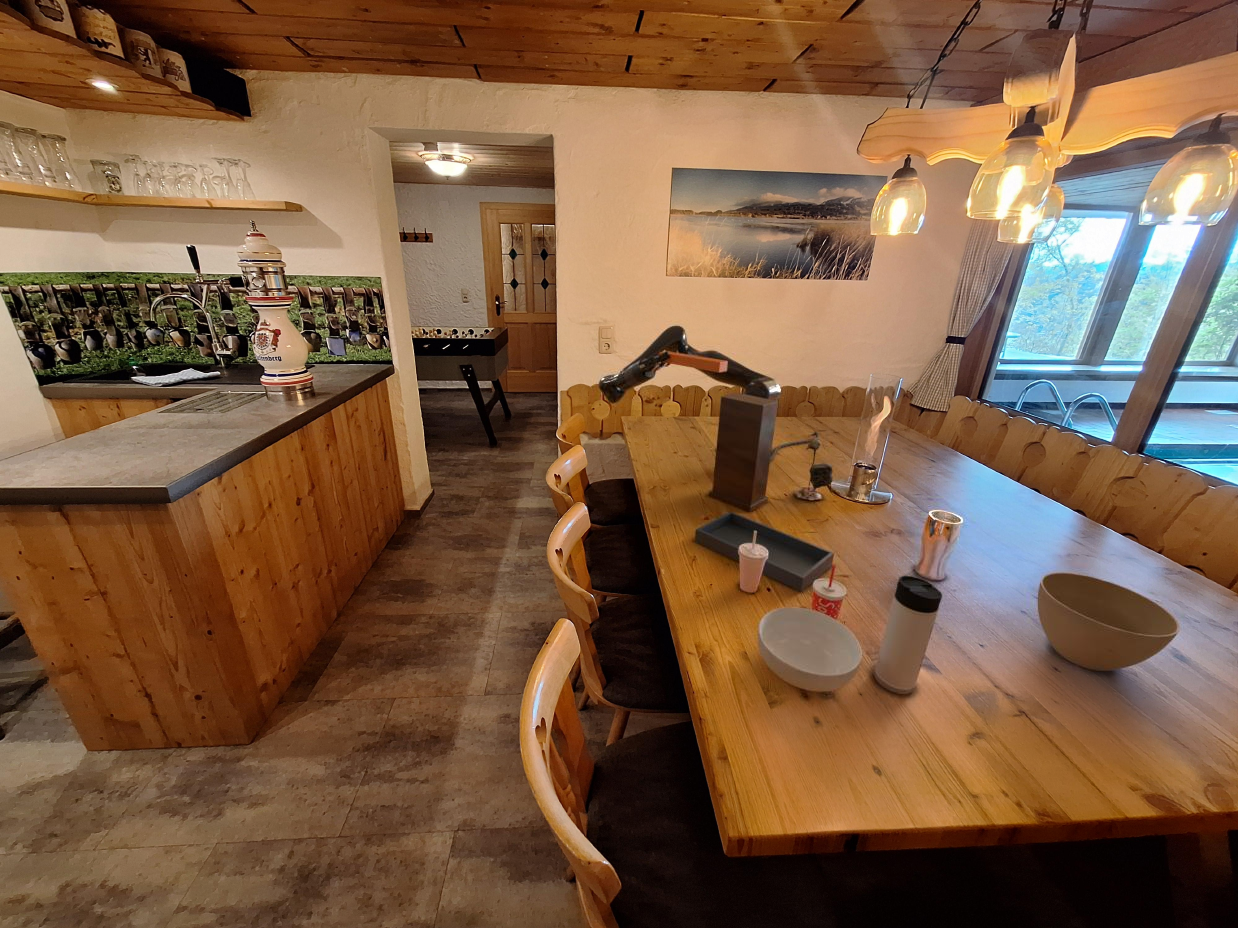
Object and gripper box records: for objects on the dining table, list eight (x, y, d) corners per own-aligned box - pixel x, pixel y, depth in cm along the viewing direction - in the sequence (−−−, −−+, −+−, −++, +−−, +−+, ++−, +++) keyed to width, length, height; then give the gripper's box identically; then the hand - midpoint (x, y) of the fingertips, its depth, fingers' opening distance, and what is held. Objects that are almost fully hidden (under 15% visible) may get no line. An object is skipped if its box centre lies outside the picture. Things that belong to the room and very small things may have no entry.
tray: (729, 522, 138) (730, 511, 137) (831, 565, 118) (834, 552, 117) (694, 541, 128) (695, 529, 127) (800, 591, 108) (803, 578, 107)
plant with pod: (829, 505, 149) (841, 443, 142) (791, 498, 154) (801, 437, 147) (832, 495, 156) (843, 436, 149) (795, 488, 161) (804, 430, 153)
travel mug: (864, 668, 87) (888, 573, 80) (899, 666, 88) (926, 571, 81) (885, 696, 81) (913, 596, 74) (922, 693, 82) (953, 594, 75)
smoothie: (760, 580, 112) (768, 526, 107) (765, 597, 106) (774, 541, 101) (732, 578, 113) (738, 524, 108) (735, 595, 107) (742, 539, 102)
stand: (726, 487, 161) (736, 391, 149) (767, 502, 151) (781, 400, 139) (708, 495, 155) (717, 396, 143) (749, 511, 144) (763, 406, 133)
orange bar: (666, 360, 163) (667, 351, 162) (726, 371, 147) (727, 361, 145) (658, 361, 160) (658, 352, 159) (719, 372, 144) (719, 362, 143)
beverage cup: (799, 623, 98) (810, 563, 93) (815, 611, 102) (827, 553, 97) (828, 639, 94) (841, 578, 89) (844, 626, 98) (857, 566, 93)
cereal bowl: (736, 669, 87) (740, 637, 84) (779, 624, 98) (784, 594, 95) (832, 726, 76) (841, 691, 73) (868, 668, 87) (876, 636, 85)
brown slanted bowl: (1117, 706, 80) (1147, 648, 76) (1000, 636, 96) (1019, 584, 91) (1170, 674, 87) (1201, 619, 83) (1053, 613, 102) (1074, 564, 98)
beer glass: (942, 568, 118) (959, 512, 112) (950, 584, 112) (968, 526, 106) (910, 562, 120) (924, 507, 115) (915, 578, 114) (931, 520, 108)
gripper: (621, 365, 166) (654, 344, 153) (649, 360, 175) (683, 340, 162) (628, 386, 166) (662, 367, 153) (656, 380, 175) (691, 362, 162)
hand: (673, 353), depth 157 cm, fingers closed on orange bar, 4 cm apart
